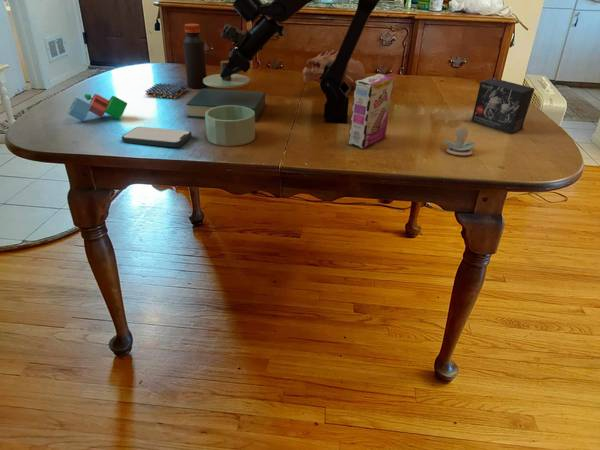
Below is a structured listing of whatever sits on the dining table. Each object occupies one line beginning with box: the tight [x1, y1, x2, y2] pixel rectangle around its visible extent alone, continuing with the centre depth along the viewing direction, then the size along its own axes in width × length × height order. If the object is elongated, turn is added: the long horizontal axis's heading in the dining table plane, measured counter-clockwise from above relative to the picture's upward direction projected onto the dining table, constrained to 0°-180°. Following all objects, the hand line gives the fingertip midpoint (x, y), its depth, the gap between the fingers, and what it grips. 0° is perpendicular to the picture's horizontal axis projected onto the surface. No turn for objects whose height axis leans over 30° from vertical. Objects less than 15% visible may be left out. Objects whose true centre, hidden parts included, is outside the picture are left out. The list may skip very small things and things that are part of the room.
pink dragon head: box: [302, 49, 366, 88], centre depth 155 cm, size 13×15×25 cm
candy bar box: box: [348, 73, 395, 150], centre depth 116 cm, size 11×5×16 cm, turn 141°
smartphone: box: [121, 126, 193, 148], centre depth 117 cm, size 9×2×16 cm
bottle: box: [182, 23, 208, 90], centre depth 155 cm, size 7×7×20 cm
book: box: [185, 88, 266, 123], centre depth 137 cm, size 20×16×4 cm
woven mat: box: [145, 82, 187, 100], centre depth 151 cm, size 10×11×2 cm
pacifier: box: [444, 126, 475, 157], centre depth 114 cm, size 7×6×6 cm
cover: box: [203, 60, 251, 89], centre depth 132 cm, size 14×14×6 cm
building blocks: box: [67, 93, 128, 122], centre depth 127 cm, size 8×8×12 cm
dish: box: [204, 105, 256, 147], centre depth 119 cm, size 13×13×6 cm
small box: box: [471, 77, 535, 134], centre depth 131 cm, size 13×7×12 cm, turn 40°
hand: (221, 75), depth 133 cm, fingers closed on cover, 3 cm apart
